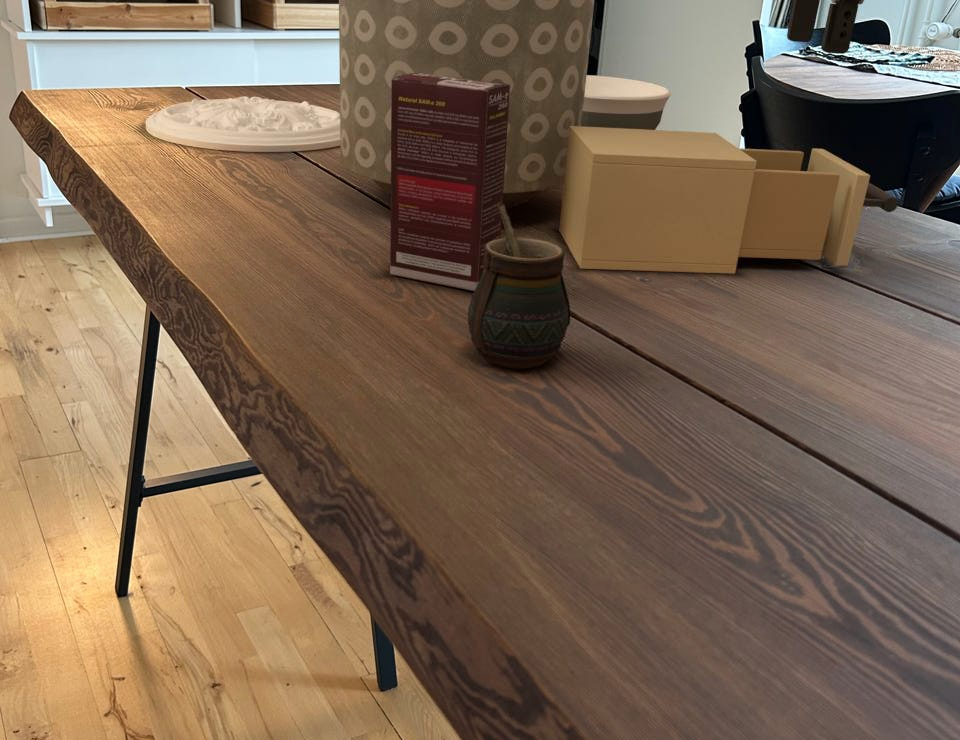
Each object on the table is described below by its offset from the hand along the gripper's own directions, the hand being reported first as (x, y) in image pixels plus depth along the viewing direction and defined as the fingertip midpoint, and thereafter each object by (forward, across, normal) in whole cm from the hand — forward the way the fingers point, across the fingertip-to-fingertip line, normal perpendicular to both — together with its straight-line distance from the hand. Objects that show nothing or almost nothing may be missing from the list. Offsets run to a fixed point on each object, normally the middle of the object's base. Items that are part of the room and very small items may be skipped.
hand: (815, 46), depth 91 cm
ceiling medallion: (+19, +51, +55) cm, 77 cm away
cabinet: (+19, 0, +13) cm, 23 cm away
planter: (+19, +16, +30) cm, 39 cm away
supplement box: (+19, -10, +33) cm, 39 cm away
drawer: (+18, 0, -1) cm, 18 cm away
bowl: (+19, +48, +9) cm, 52 cm away
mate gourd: (+19, -28, +29) cm, 44 cm away
